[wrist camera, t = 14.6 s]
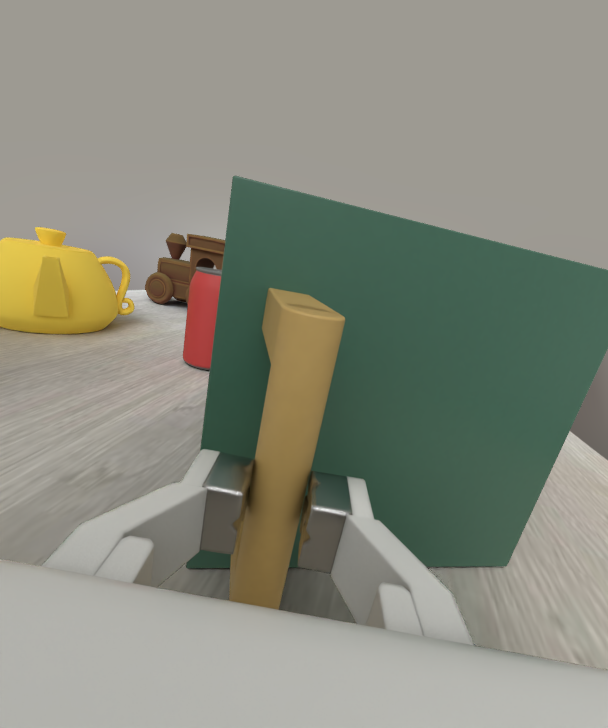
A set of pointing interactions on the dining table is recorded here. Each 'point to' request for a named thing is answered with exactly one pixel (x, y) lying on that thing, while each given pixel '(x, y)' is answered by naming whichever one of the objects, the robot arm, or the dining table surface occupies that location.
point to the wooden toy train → (183, 266)
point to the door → (391, 377)
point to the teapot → (57, 286)
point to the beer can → (201, 317)
